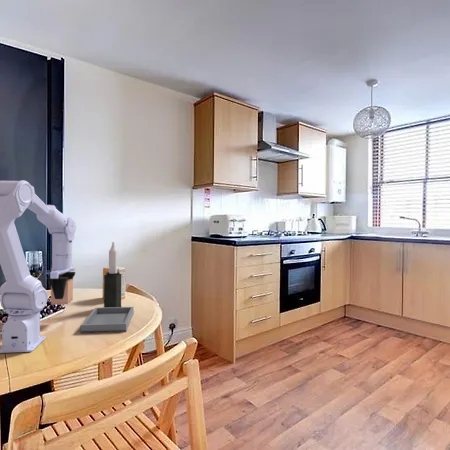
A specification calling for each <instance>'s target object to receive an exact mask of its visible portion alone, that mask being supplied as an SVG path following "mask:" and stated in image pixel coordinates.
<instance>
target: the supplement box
mask: <svg viewBox="0 0 450 450" xmlns="http://www.w3.org/2000/svg"><path fill="white" fill-rule="evenodd" d="M108 272H109V266H105V267H103V268H102V299H103V300H104V275H106V273H108ZM117 272H119V274H121V301H122V300H124V299H126V285H127V284H126V280H127V279H126V276H127V275H126V274H127V268H126V267H120V266H119V267H118V266H117Z"/></svg>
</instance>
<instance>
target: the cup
mask: <svg viewBox="0 0 450 450" xmlns="http://www.w3.org/2000/svg"><path fill="white" fill-rule="evenodd" d="M73 291H74V278H73V279H68V280H67V282H66V285H65V289H64V296H63V299H55V297H54V293H53V289H52V286H51V285H50V305H51V306H52V305H68V304H70V303H71V302H72V301H73V300H74V299H73V297H74V294H73V293H74V292H73Z"/></svg>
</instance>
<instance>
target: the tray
mask: <svg viewBox="0 0 450 450" xmlns="http://www.w3.org/2000/svg"><path fill="white" fill-rule="evenodd" d="M134 312H135V311H134V306H121V307H104V306H103V307H102V306H101V307H94V309H93V310H92V311H91V313H90V314H89V315H88V316H87V317H86V319H85V320H84V321H83V322H82V323H81V325H80V334H98V333H103V334H104V333H124V332H125V333H126V332H127V331H128V328H129V326H130V324H131V321H132V319H133V316H134Z"/></svg>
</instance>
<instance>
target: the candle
mask: <svg viewBox="0 0 450 450" xmlns="http://www.w3.org/2000/svg"><path fill="white" fill-rule="evenodd" d="M108 250H109V251H108V267H109V272H108V273H106V275H104V299H103V307H122V300H121V274H119V272H117V267H118V250H117V248H116V246H115V242H114V241H112V242H111V247H110V249H108Z"/></svg>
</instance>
